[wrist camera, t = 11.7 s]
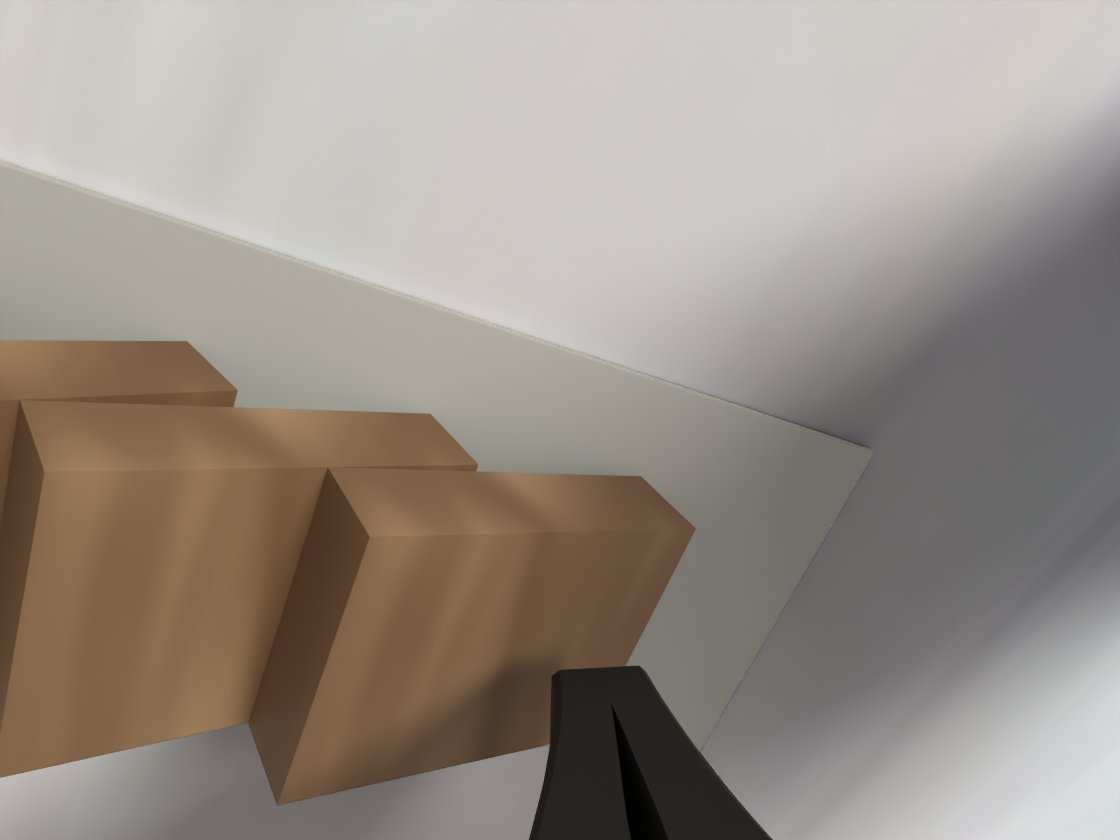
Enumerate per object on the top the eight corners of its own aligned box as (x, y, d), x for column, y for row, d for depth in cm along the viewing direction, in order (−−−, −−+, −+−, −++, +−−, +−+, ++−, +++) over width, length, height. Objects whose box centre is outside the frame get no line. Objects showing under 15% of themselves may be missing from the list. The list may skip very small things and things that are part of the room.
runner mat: (869, 448, 16) (874, 453, 16) (684, 767, 19) (686, 774, 19) (-613, -42, 11) (-630, -43, 10) (-541, 512, 14) (-553, 518, 13)
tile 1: (696, 528, 14) (369, 537, 11) (590, 735, 16) (277, 805, 12) (641, 476, 15) (328, 466, 12) (547, 675, 17) (248, 722, 13)
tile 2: (478, 464, 13) (44, 472, 9) (391, 690, 15) (-8, 779, 11) (430, 414, 14) (20, 400, 10) (353, 630, 16) (-25, 691, 12)
